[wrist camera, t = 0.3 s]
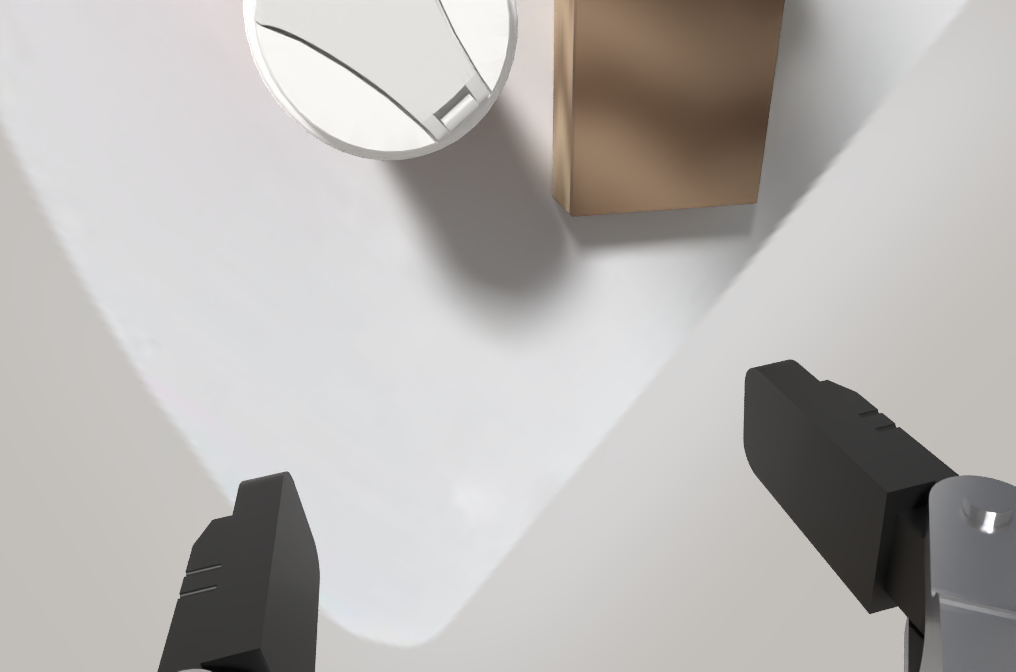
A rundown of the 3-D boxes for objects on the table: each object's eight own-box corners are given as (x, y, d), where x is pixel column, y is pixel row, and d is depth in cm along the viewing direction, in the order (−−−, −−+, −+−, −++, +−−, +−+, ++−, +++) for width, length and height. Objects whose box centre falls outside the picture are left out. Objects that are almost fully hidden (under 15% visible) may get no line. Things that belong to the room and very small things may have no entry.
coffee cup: (494, 24, 35) (580, 44, 22) (371, 138, 36) (382, 222, 23) (373, -136, 31) (389, -229, 18) (240, -4, 33) (164, -1, 19)
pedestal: (554, -5, 35) (577, -5, 31) (744, -9, 37) (786, -9, 33) (552, 196, 39) (572, 216, 36) (721, 185, 41) (756, 203, 38)
